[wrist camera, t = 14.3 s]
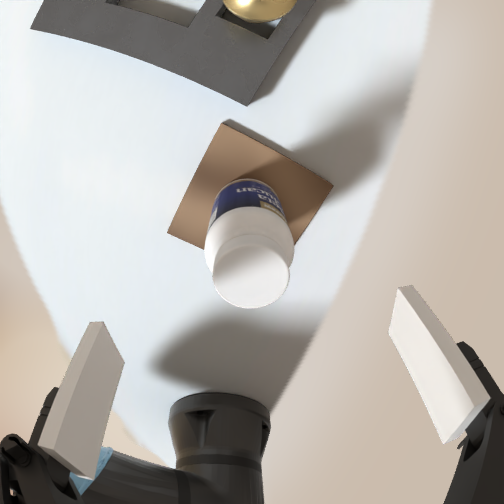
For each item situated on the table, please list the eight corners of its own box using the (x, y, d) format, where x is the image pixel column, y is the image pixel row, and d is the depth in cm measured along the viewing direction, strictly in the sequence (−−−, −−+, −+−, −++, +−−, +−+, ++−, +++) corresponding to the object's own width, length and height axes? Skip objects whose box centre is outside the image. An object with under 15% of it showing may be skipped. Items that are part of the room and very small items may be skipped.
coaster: (269, 275, 28) (270, 279, 27) (168, 229, 25) (166, 232, 25) (331, 183, 24) (333, 185, 23) (221, 122, 21) (221, 123, 20)
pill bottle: (288, 184, 23) (318, 243, 15) (271, 244, 26) (287, 324, 17) (219, 170, 22) (207, 222, 14) (207, 233, 25) (193, 311, 16)
